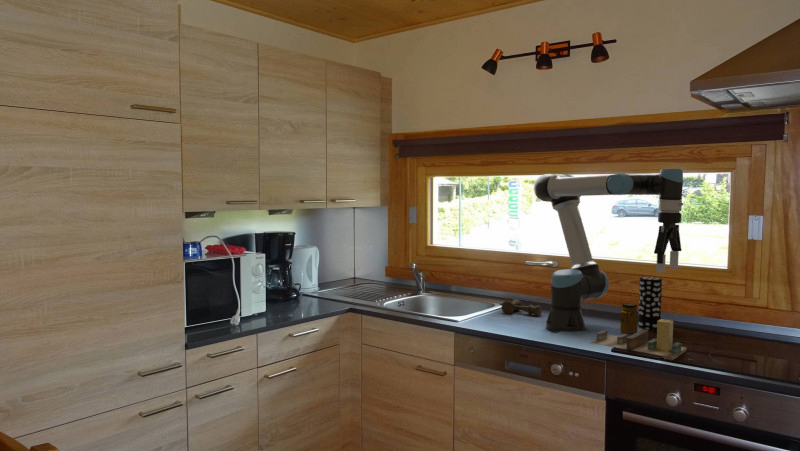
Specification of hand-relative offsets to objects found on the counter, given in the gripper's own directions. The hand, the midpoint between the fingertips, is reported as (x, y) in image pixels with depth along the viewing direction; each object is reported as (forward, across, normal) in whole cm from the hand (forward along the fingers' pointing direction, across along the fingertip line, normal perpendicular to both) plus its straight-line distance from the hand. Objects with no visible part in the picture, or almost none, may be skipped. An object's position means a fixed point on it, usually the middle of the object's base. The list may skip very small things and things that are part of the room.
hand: (667, 270), depth 209 cm
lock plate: (+26, -14, +4) cm, 30 cm away
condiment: (+27, +3, +13) cm, 30 cm away
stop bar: (+25, -13, -5) cm, 29 cm away
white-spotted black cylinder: (+27, +21, +13) cm, 36 cm away
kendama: (+28, +8, +65) cm, 71 cm away
